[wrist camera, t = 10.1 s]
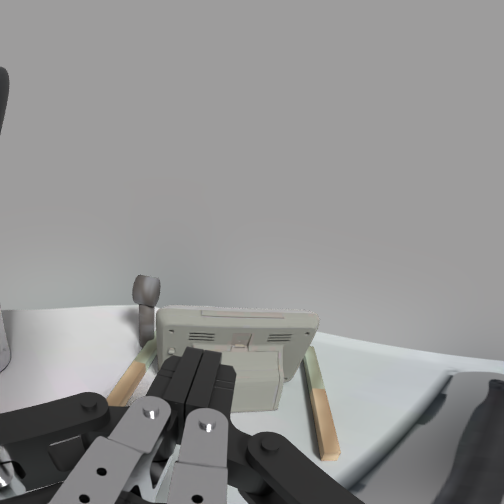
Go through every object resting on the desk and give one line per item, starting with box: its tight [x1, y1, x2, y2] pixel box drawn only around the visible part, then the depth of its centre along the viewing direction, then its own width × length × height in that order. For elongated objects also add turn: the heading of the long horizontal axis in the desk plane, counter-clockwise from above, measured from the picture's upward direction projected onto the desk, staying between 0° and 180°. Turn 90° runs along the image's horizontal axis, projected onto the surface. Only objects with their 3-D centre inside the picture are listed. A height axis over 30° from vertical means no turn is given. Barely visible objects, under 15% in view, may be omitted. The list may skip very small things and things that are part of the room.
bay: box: [106, 275, 341, 461], centre depth 30 cm, size 24×20×10 cm
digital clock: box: [156, 305, 319, 412], centre depth 30 cm, size 16×9×11 cm, turn 91°
